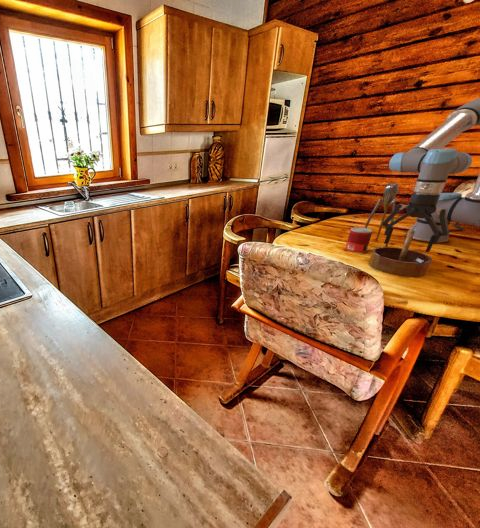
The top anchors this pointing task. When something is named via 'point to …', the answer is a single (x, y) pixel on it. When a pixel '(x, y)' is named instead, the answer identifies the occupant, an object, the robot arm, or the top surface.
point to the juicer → (386, 204)
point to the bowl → (399, 262)
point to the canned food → (358, 239)
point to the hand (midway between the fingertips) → (406, 246)
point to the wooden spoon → (406, 246)
